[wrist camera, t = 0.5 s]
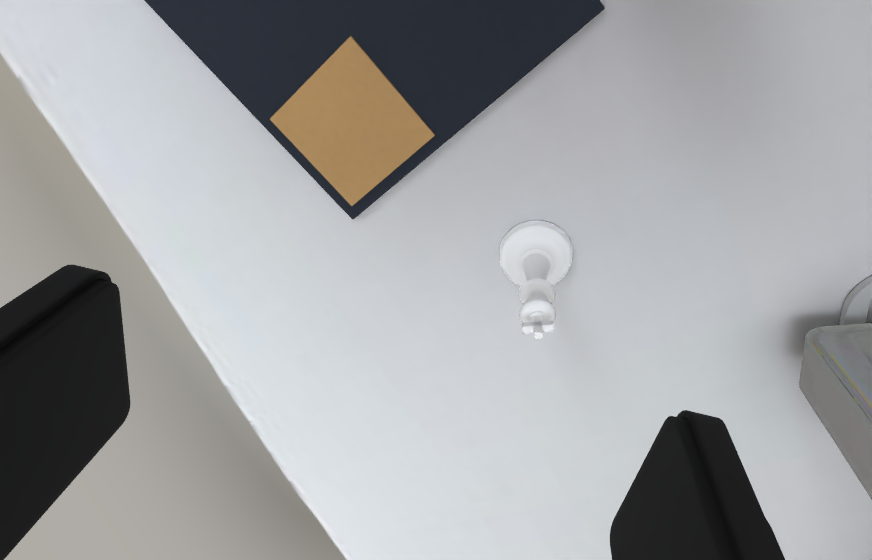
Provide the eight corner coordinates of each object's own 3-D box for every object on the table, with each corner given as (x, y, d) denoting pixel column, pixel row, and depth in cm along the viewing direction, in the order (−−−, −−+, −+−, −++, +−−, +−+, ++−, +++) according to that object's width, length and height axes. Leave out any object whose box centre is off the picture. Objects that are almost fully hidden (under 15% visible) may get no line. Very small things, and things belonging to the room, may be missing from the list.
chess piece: (575, 282, 40) (588, 370, 31) (503, 288, 41) (497, 375, 32) (570, 216, 38) (583, 291, 29) (494, 224, 39) (485, 298, 30)
